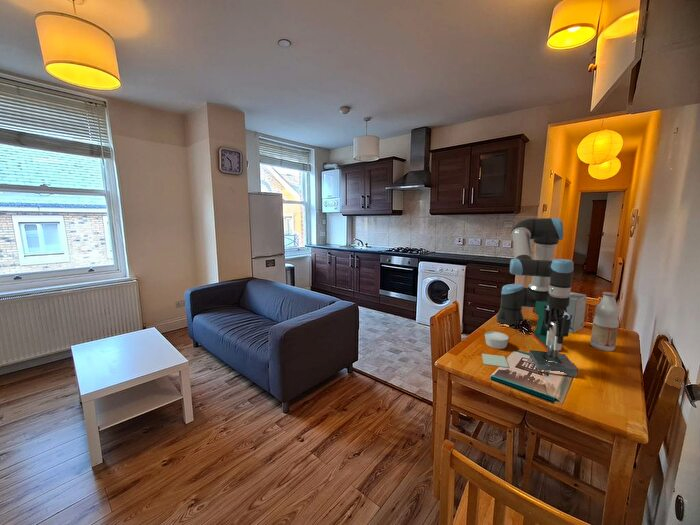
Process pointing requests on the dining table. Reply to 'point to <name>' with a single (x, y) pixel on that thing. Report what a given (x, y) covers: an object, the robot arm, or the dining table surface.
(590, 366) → the dining table surface
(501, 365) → the rubber mat
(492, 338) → the ramekin
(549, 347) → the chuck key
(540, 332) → the power tool
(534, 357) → the plate
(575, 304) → the hard drive box
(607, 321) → the fruit juice
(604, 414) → the dining table surface
